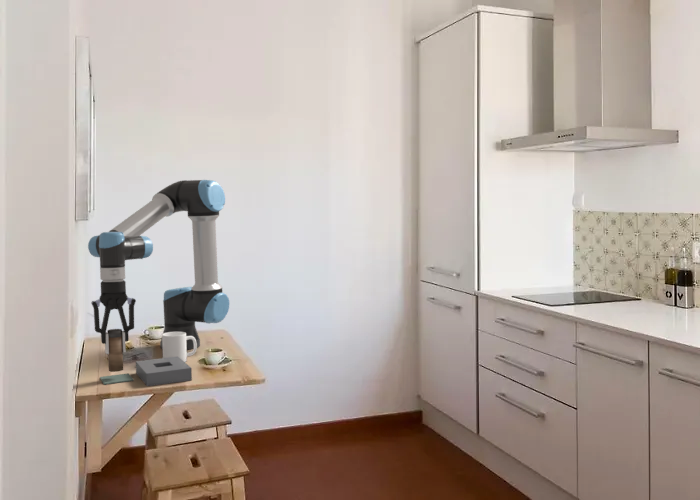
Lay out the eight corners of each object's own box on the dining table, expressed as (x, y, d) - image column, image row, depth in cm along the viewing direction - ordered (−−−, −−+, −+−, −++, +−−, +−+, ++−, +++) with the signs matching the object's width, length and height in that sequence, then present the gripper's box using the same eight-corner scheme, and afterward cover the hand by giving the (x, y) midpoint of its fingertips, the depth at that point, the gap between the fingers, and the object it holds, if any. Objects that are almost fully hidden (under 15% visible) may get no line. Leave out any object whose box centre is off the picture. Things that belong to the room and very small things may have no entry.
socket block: (136, 373, 228) (135, 361, 228) (178, 367, 235) (177, 356, 234) (147, 386, 212) (146, 373, 212) (191, 380, 219) (191, 367, 218)
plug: (107, 369, 221) (106, 329, 220) (121, 367, 223) (120, 328, 222) (109, 372, 217) (108, 332, 216) (124, 370, 219) (123, 330, 218)
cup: (161, 360, 245) (160, 332, 245) (195, 357, 250) (194, 329, 249) (164, 365, 238) (163, 337, 237) (199, 362, 242) (198, 334, 242)
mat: (100, 378, 222) (99, 376, 222) (128, 374, 227) (128, 373, 226) (104, 384, 214) (104, 383, 214) (133, 380, 219) (133, 379, 219)
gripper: (85, 283, 211) (88, 357, 212) (143, 279, 219) (145, 351, 220) (82, 280, 217) (85, 353, 219) (138, 277, 225) (141, 347, 227)
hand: (115, 352), depth 220 cm, fingers closed on plug, 4 cm apart
